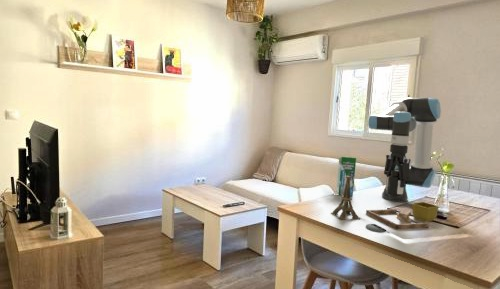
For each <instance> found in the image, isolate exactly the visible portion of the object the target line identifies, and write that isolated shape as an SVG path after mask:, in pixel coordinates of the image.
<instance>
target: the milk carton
mask: <svg viewBox="0 0 500 289" xmlns="http://www.w3.org/2000/svg"><path fill="white" fill-rule="evenodd" d="M356 163H357V158H356V157H351V156H347V155H344V156H341V157H339V159H338V168H337V180H336V181H337V182H336V191H335V192H336V193H337V194H338V196H343V194H344V190H345V185H346V180H347V179H346V176H348V174H349V176H350V177H351V179H350V197H353V196H354V188H355V186H354V185H355V176H356V175H355V174H356V166H357V164H356Z"/></svg>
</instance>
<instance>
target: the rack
mask: <svg viewBox="0 0 500 289" xmlns="http://www.w3.org/2000/svg"><path fill="white" fill-rule="evenodd" d="M365 213H366V216H369V217H371V218H372V219H374V220H377V221H378V222H381V223H383V224H385V225H387V226H389V227H391V228H392V229H394V230H396V231H397V230H412V229H413V230H414V229H428V228H429V227H430V223H429V222H420V221H417V220H414V219H413V218H411V222H412V223H396V222H394V221H392V220H389V219H387V218H385V217H383V216H381V215H389V214H390V215H393V214H395V215H397V214H399V213H400V212H398V210H397V209H396V208H394V209H393V208H391V209H366V211H365Z"/></svg>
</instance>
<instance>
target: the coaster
mask: <svg viewBox="0 0 500 289" xmlns="http://www.w3.org/2000/svg"><path fill="white" fill-rule="evenodd" d="M365 228H366V229H367V230H369V231H372V232H375V233H386V232H387V231H388V230H387V229H385V228H384V227H382V226H380V225H378V224H375V223H367V224H365Z"/></svg>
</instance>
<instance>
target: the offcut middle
mask: <svg viewBox="0 0 500 289" xmlns="http://www.w3.org/2000/svg"><path fill="white" fill-rule="evenodd" d="M397 218H398V219H397ZM396 219H397V220H399V219H400V220H399V221H401V222H403V223H404V224H412V223H411V222H412V221H411V219H412V218H410V216H409V217H408V218H407V219H405V218H401V217H399V214H396Z"/></svg>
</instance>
